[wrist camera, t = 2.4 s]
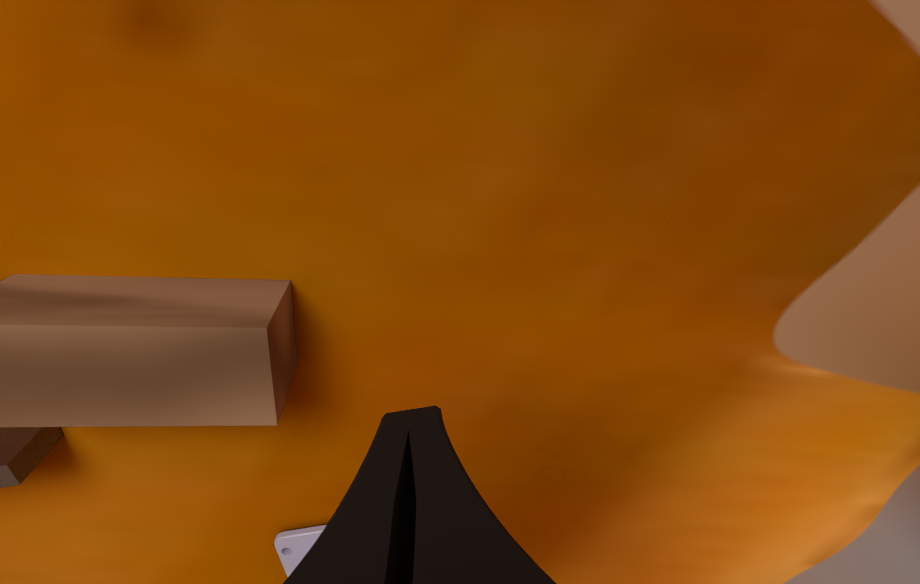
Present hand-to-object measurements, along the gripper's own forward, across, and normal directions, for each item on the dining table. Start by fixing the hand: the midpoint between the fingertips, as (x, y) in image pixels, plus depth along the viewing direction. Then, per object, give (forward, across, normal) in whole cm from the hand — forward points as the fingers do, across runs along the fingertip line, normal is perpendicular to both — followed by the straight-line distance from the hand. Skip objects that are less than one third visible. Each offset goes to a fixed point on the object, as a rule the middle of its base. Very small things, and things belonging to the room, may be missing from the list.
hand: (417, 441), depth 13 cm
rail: (+9, +10, 0) cm, 14 cm away
